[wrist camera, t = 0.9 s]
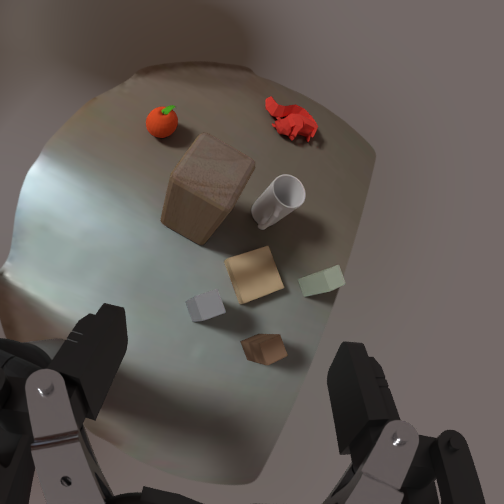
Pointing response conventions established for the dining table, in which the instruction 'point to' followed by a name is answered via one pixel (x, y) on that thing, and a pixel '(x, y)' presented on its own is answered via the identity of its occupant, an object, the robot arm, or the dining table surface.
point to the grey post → (205, 306)
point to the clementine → (162, 121)
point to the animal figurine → (291, 120)
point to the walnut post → (264, 348)
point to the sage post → (322, 281)
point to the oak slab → (253, 274)
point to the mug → (278, 200)
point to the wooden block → (205, 187)
